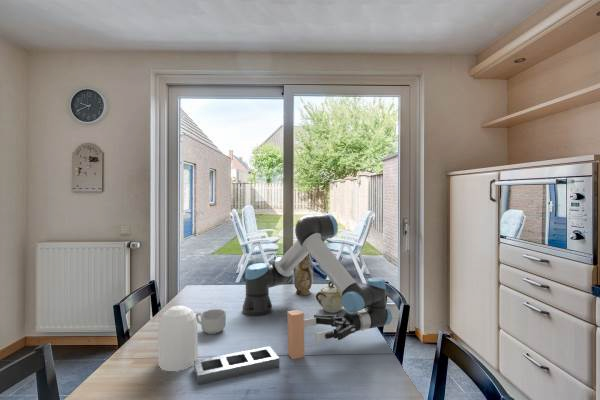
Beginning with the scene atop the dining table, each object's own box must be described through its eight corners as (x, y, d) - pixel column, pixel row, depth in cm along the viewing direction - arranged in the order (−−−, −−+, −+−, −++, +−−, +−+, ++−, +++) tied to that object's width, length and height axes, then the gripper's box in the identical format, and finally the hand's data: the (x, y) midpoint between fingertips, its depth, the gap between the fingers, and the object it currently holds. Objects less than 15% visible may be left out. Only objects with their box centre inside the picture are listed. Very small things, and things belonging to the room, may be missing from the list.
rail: (194, 369, 118) (193, 360, 118) (269, 354, 129) (269, 346, 129) (198, 384, 108) (197, 375, 108) (279, 366, 119) (279, 358, 119)
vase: (292, 295, 203) (292, 244, 202) (296, 290, 214) (295, 241, 213) (310, 295, 201) (309, 244, 201) (312, 290, 212) (312, 241, 211)
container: (156, 358, 126) (155, 304, 126) (193, 350, 133) (192, 298, 132) (161, 375, 114) (160, 315, 114) (202, 365, 121) (201, 308, 120)
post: (287, 354, 129) (287, 311, 128) (299, 351, 130) (298, 309, 130) (292, 359, 124) (292, 315, 124) (304, 357, 126) (303, 313, 126)
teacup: (231, 328, 153) (230, 311, 153) (215, 338, 144) (215, 319, 143) (206, 324, 159) (206, 306, 159) (189, 332, 149) (189, 314, 149)
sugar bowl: (325, 318, 165) (325, 287, 165) (307, 309, 177) (307, 280, 177) (356, 310, 176) (356, 280, 176) (337, 302, 188) (337, 275, 188)
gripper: (375, 342, 126) (323, 354, 117) (340, 319, 149) (295, 328, 140) (375, 322, 126) (323, 332, 117) (340, 302, 149) (294, 309, 140)
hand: (307, 330), depth 129 cm, fingers open, 13 cm apart
